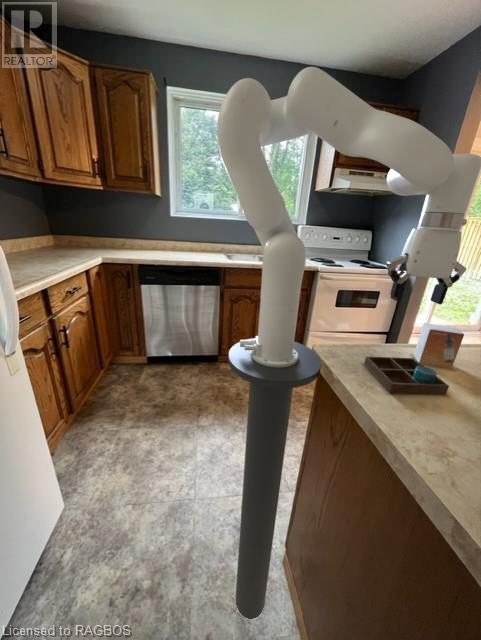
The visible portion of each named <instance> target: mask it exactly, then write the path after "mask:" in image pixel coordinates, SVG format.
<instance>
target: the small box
mask: <svg viewBox="0 0 481 640" xmlns="http://www.w3.org/2000/svg"><path fill="white" fill-rule="evenodd" d="M464 336H465V334H464V333H463V332H462V331H461V329H459V328H458V327H456V326H449V325H440V324H432V323H428V322H423V324H422V327H421V330H420V334H419V338H418V340H417V344H416V346H415V349H414V353H413V356H414V359H415V360H417V361H418V362H419V363H420V364H422V365H425V366H431V367H436V368H441V369H445V370H452V369H453V366H454V364H455V361H456V358H457V356H458V353H459V351H460V347H461V345H462V342H463V340H464Z"/></svg>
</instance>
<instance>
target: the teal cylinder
mask: <svg viewBox="0 0 481 640" xmlns="http://www.w3.org/2000/svg"><path fill="white" fill-rule="evenodd" d="M437 374H438V373H437V371H436V370H435V369H433V368H431V367H428V366H426V365H425V366H424V365H423V366H417V367H416V368H415V371H414V374H413V377H414V378H415V379H416V380H417V381H418V382H419V383H420V384H433V383H434V380H435V377H436V376H437Z"/></svg>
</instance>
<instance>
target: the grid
mask: <svg viewBox="0 0 481 640" xmlns="http://www.w3.org/2000/svg"><path fill="white" fill-rule="evenodd" d="M363 365H364V366H365V368H366V369H367V370H368V371H369V372H370V374H372V375H373V377H374V378H376V380H377V381H378V382H379V383H380V384H381V385H382V386H383V388H384V389H385V390H386V391H387V392H388V393H389V394H394V395H395V394H397V395H399V394H401V395H425V396H426V395H428V396H429V395H432V396H446V395H447V393H448V390H449V388H450V385H449V384H447V382H445V381H444V380H442V379H441V378H440V377H439V376H437V375H436V377H435V380H434V383H433V384H420V383H419V382H418V381H417V380H416V379H415V378H414V377H413V374H414V371H415V368H416V367H417V366H424V364H420V363H419V362H418V361H417V360H416V358H415V357H394V356H393V357H389V356H365V358H364V363H363Z"/></svg>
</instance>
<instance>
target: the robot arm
mask: <svg viewBox="0 0 481 640" xmlns="http://www.w3.org/2000/svg"><path fill="white" fill-rule="evenodd" d="M217 116H218V117H217V124H216V137H217V146H218V151H219V156H220V158H221V161H222V164H223V166H224V169H225V172H226V174H227V176H228V178H229V180H230V183H231V185H232V188H233V190H234V193H235V194H236V197H237V200H238V202H239V204H240V206H241V208H242V211H243V213H244V216H245V219H246V221H247V223H248V224H249V225H250V226H251V228H253V230H254V232H255V235H256V237H257V239H258V241H259V243H260V245H261V247H262V249H263V253H262V263H261V284H260V300H259V301H260V303H259V314H258V317H259V318H258V327H257V335H255V338H256V339H252V341H250V340H247V339H240V340H239V342H240V347H245V350H249V351H250V350H251V357H252V358H253V359H254V360H255V361H256V362H258V363H260V364H262V365H265V366H269V367H276V368H282V367H289V366H292V365H294V364H295V363H296V362H297V361H298V353H297V352H296V350H294V349H293V347H294V342H295V338H296V330H297V322H298V315H299V314H298V313H299V306H300V298H301V292H302V291H301V289H302V284H303V278H304V273H305V268H306V267H305V266H306V260H307V251H306V247H305V244H304V242H303V241H302V239H301V238H300V236H299V235H298V233H297V231H296V228H295V226H294V224H293V221H292V219H291V216H290V215H289V212H288V209H287V207H286V202H285V199H284V197H283V195H282V193H281V192H280V191H279V188H278V187H277V184H276V182H275V180H274V177H273V175H272V173H271V171H270V170H271V169H270V167H269V165H268V162H267V160H266V157H265V155H264V152H263V150H262V147H265V146H271V145H274V144H279V143H283V142H287V141H291V140H294V139H297V138H300V137H304V136H307V135H309V134H311V133H312V134H314V135H315V136H317V137H318V138H319V139H321V140H322V141H324V142H325V143H326V144H328V145H329V146H331V147H332V148H333V149H335V150H336V151H337V152H339V153H340V154H342V155H345V156H348V157H352V158H365V159H370V160H373V161H375V162H378V163H380V164H382V165H384V166H386V167H388V168H389V171H388V173H387V176H386V184H387V185H386V186H387V187H388V189H389V190H390V191H391V192H392V193H393V194H395V195H398V196H403V197H406V196H420V195H425V200H424V202H423V206H422V210H421V213H420V216H419V220H418V224H417V228H415V227H414V228H412V230H411V232H410V233H409V235H408V237H407V239H406V242H405V244H404V246H403V249H402V251H401V255H400V256H398V257H395V258H393V259H390V260H388V261H387V262H386V268H387V271H388V272H387V274H388V275H389V277H390V279H391V281H392V286H391V289H390V293H389V294H390V299H391V300H393V301H395V302H401V300H402V297H403V294H404V290H405V284H404V282H406V281H407V280H408V279H409V278H410V277H417V278H429V279H436V281H437V283H436V284H435V285H434V286H433V287H434V288H433V291H432V293H431V296H430V302H433V303H435V304H437V305H442V304H443V303H444V301H445V298H446V296H447V292H448V289H449V288H452V287H453V284H455V283H456V282H458V281H459V280H460V277H462V276H463V275H464V273H465V272H466V271H467V267H465V266H464V265H463V264H462V263H461V262H459V261H457V260H458V257H459V253H460V248H461V242H462V233H463V232H462V231H461V228H462V227H465V226H466V225H467V223H468V219H466V218H465V216H466V213H467V211H468V207H469V204H470V201H471V198H472V196H473V192H474V189H475V186H476V184H477V180H478V178H479V175H480V171H481V156H480V155H478V154H474V153H453V152H452V150H451V149H450V147H449V146H448V145H447V143H445V142H444V141H443V140H442V139H441V138H439V137H438V136H437V135H435V133H433V132H431V130H429V129H428V128H426V127H425V126H424V125H422V124H419V122H416V121H414V120H411V119H410V118H406V117H404V116H401V115H397V114H394V113H391V112H388V111H384V110H380V109H377V108H375V107H373V106H371V105H370V104H368V103H367V102H366V101H365V100H364V99H362V98H360V97H359V96H358V95H356V94H355V93H354V92H352V91H351V90H350V89H348V88H347V87H346V86H345V85H343V84H342V83H340V81H338V80H336V79H335V78H334V77H333V76H331V75H330V74H329V73H327V72H326V71H324V70H323V69H320V68H319V67H317V66H308V67H305V68H303V69H301V70H300V71H299V72H298V73H297V74H296V75H295V77H294V78H293V79H292V81H291V83H290V85H289V88H288V91H287V95H285V96H282V97H279V98H274V99H272V100H271V96H270V95H269V92H268V90H266V88H265V86H264V85H263V84H262V83H261V82H260V81H258V80H256V79H254V78H251V77H246V78H242V79H239V80H238V81H236V82H235V83H234V84H232V86H231V87H230V88H229V90H228V91H227V93H226V94H225V96H224V98H223V100H222V103H221V106H220V109H219V113H218V115H217Z"/></svg>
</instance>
